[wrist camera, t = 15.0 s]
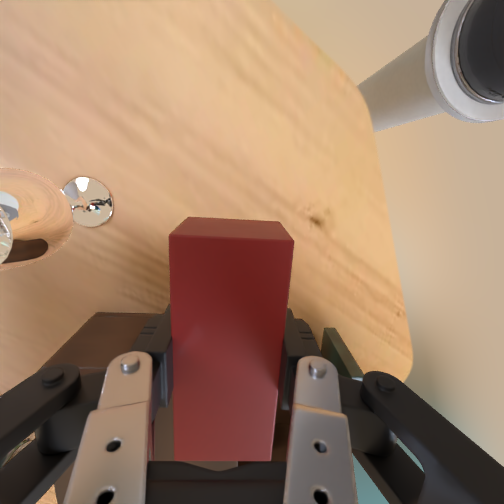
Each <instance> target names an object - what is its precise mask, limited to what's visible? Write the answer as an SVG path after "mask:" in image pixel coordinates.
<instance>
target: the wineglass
mask: <svg viewBox="0 0 504 504" xmlns="http://www.w3.org/2000/svg"><path fill="white" fill-rule="evenodd" d="M112 211H113V200H112V196H111V194H110V192H109V191H108V189H107V188H106V187H105V186H104V185H103V184H102V183H100V182H99V181H97V180H95V179H92V178H89V177H79V178H75V179H73V180H71V181H70V182H68V183H67V184H66V186H65V187H64V189H63V191H62V190H61V189H60V188H59V187H57V186H56V185H55V184H54V183H53V182H51V181H50V180H48V179H47V178H45V177H43V176H40V175H38V174H35V173H32V172H30V171H25V170H21V169H14V168H0V270H5V269H12V268H16V267H21V266H25V265H28V264H32V263H34V262H37V261H40V260H43V259H45V258H47V257H49V256H50V255H52V254H53V253H55V252H56V251H58V250H59V249H60V248H61V247H62V246H63V245H64V244H65V243H66V242H67V240H68V239H69V237H70V235H71V233H72V230H73V225H74V222H76V223H78V224H80V225H82V226H86V227H96V226H100V225H102V224H104V223H105V222H106V221H108V219H109V218H110V217H111V215H112Z"/></svg>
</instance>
